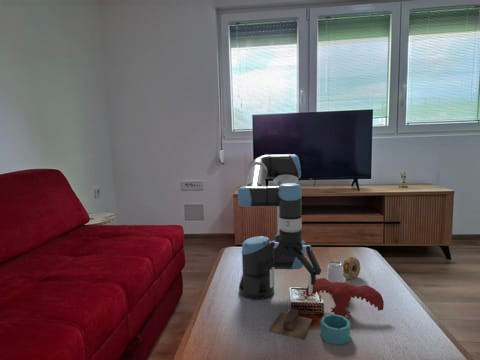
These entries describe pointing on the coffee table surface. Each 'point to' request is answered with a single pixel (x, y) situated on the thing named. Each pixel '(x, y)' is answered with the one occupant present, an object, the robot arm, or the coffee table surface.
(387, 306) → the coffee table surface
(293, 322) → the walnut lid
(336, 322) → the teal bowl
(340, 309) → the decorative bird sculpture
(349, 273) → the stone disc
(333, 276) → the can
